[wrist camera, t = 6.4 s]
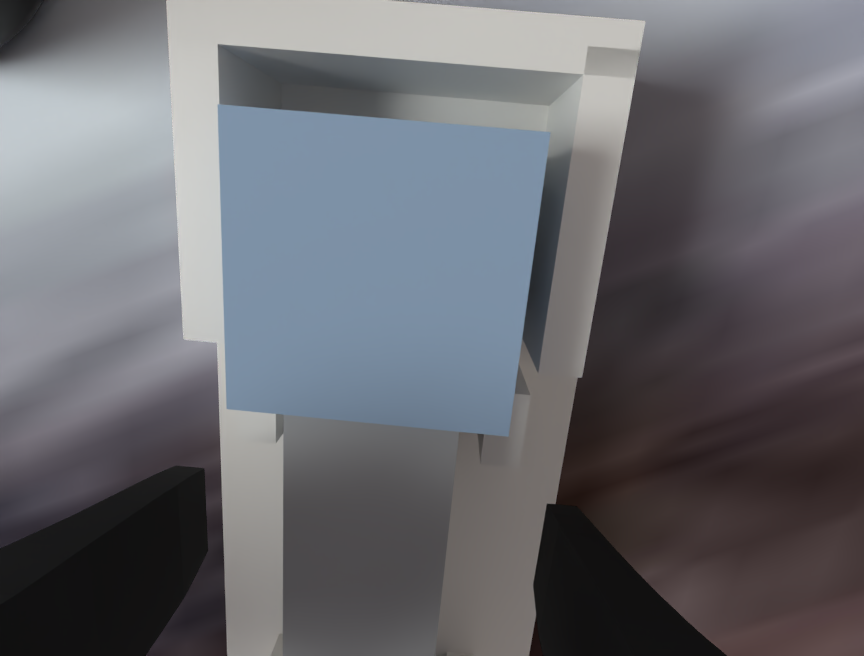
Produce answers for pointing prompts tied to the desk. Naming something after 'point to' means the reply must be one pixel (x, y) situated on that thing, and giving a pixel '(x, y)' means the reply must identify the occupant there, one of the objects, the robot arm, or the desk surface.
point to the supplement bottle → (15, 17)
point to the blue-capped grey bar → (372, 344)
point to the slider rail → (550, 277)
